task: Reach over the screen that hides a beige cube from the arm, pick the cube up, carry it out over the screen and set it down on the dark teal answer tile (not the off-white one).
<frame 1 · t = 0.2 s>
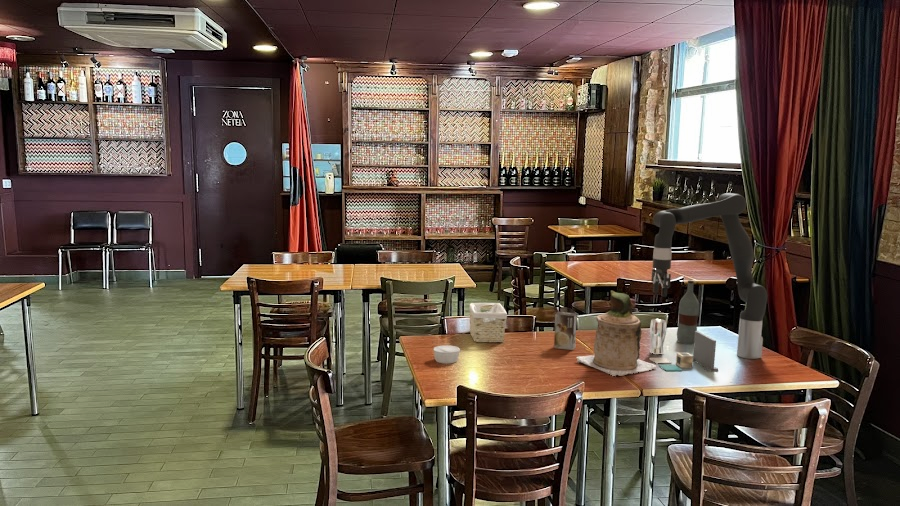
hand: (659, 294, 293), 29 cm above the table, tool pointing down, fingers open, 8 cm apart
ramekin: (446, 361, 286), on the table
screen: (702, 365, 288), on the table
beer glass: (656, 353, 305), on the table
cookie jar: (615, 366, 284), on the table
bottle: (686, 342, 326), on the table
storage basket: (486, 337, 326), on the table
coffee box: (564, 348, 310), on the table
pad B: (670, 368, 282), on the table
beige cube: (684, 365, 287), on the table
pad A: (660, 361, 292), on the table
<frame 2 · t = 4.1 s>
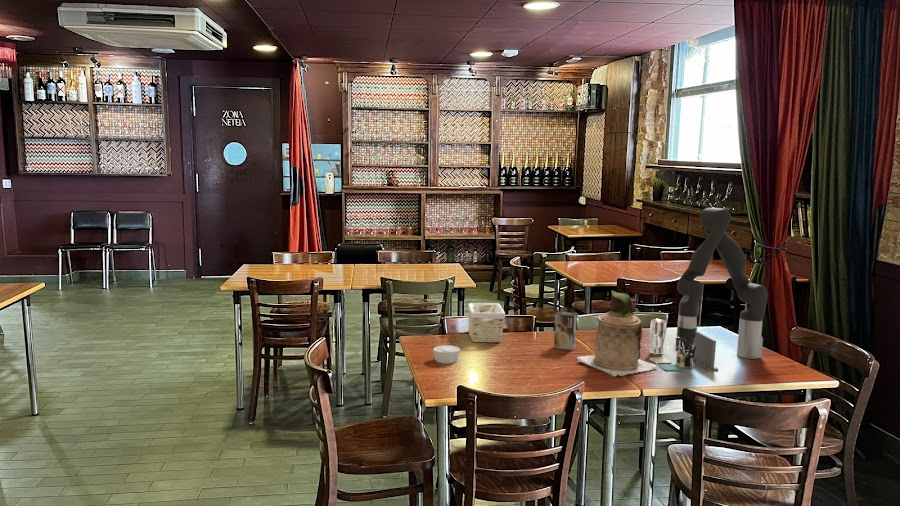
hand: (684, 364, 287), 0 cm above the table, tool pointing down, fingers closed on beige cube, 5 cm apart
beige cube: (684, 365, 287), on the table, touching gripper
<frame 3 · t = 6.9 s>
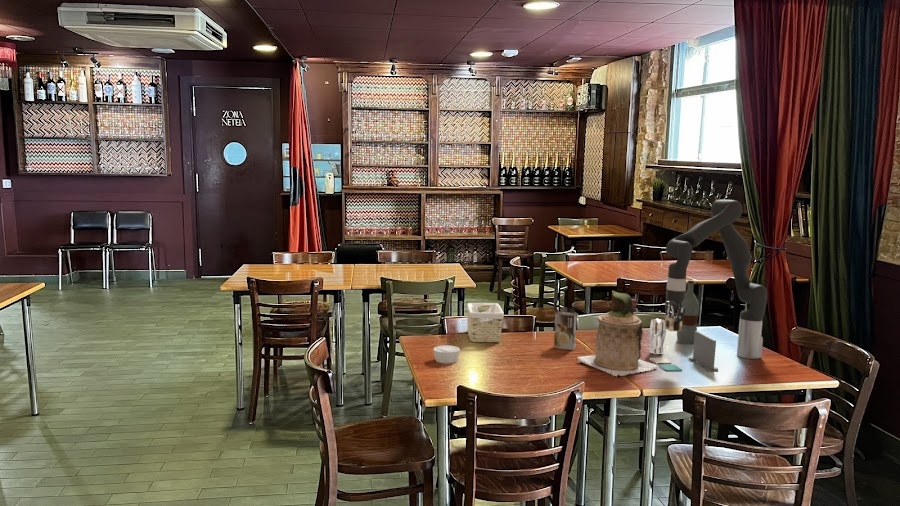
hand: (673, 328, 280), 17 cm above the table, tool pointing down, fingers closed on beige cube, 5 cm apart
beige cube: (673, 329, 280), point 17 cm above the table, touching gripper
when the fingers open (2 cm above the table, at t = 9.9 s): beige cube drops 1 cm, resting on pad B.
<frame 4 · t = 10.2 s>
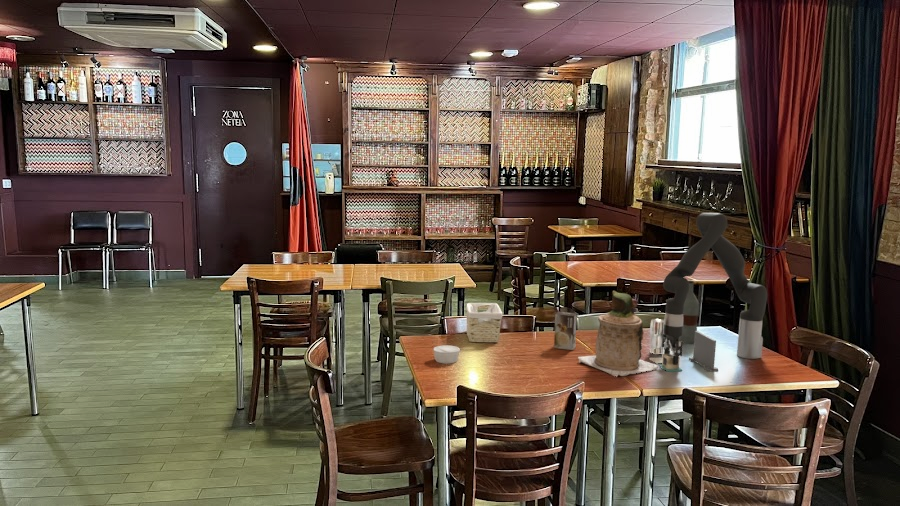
hand: (670, 361, 282), 3 cm above the table, tool pointing down, fingers open, 8 cm apart
beige cube: (670, 367, 282), point 1 cm above the table, touching pad B
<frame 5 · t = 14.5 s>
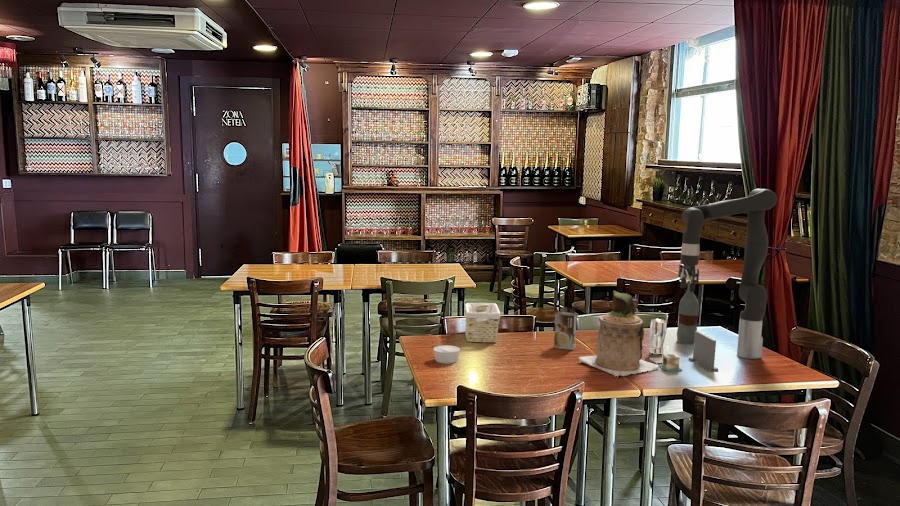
hand: (687, 289, 297), 30 cm above the table, tool pointing down, fingers open, 8 cm apart
at the end: beige cube 0.0 cm off-centre on the pad B, point 0.6 cm above the pad B's base; beige cube tilted 0°; the gripper is holding nothing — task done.
